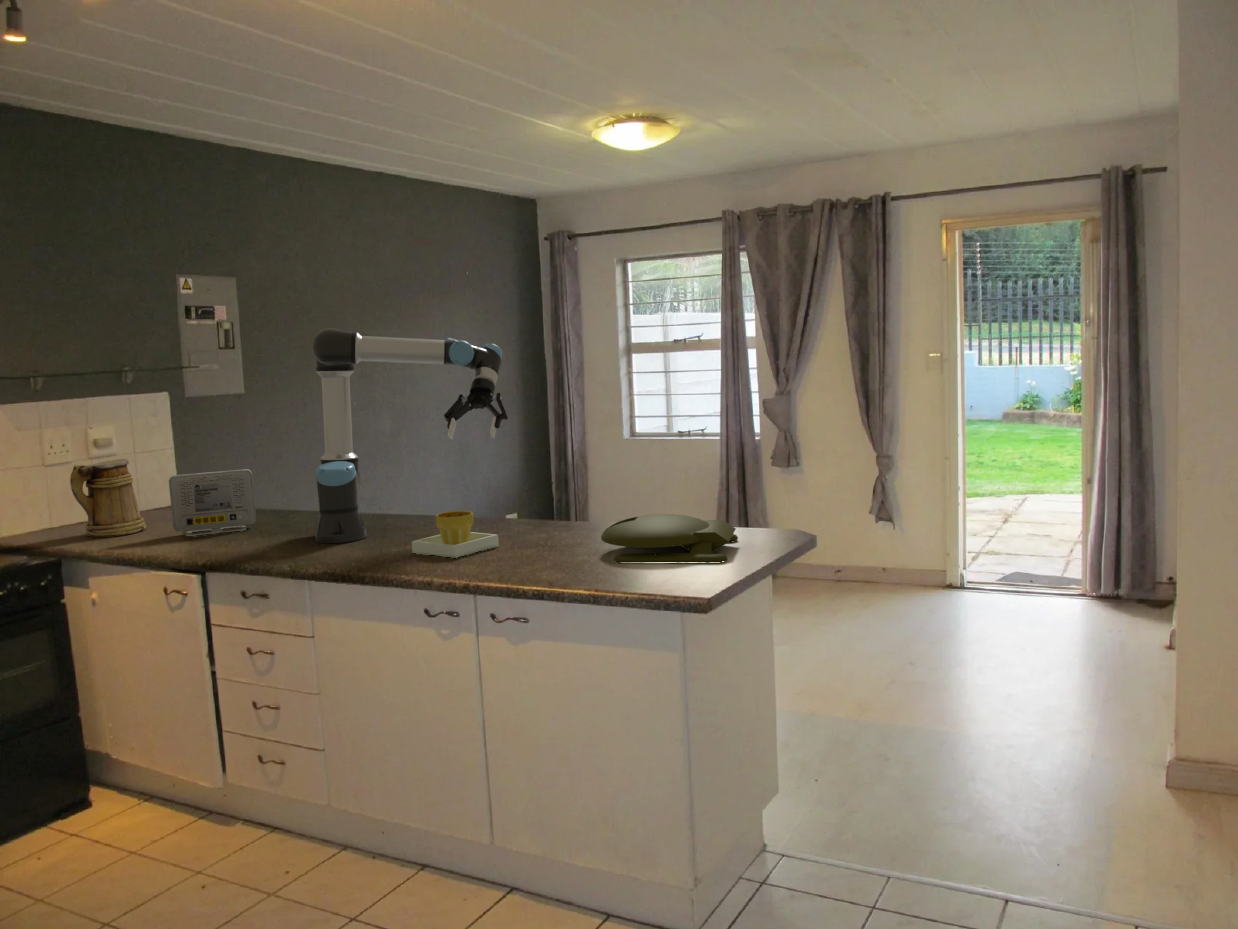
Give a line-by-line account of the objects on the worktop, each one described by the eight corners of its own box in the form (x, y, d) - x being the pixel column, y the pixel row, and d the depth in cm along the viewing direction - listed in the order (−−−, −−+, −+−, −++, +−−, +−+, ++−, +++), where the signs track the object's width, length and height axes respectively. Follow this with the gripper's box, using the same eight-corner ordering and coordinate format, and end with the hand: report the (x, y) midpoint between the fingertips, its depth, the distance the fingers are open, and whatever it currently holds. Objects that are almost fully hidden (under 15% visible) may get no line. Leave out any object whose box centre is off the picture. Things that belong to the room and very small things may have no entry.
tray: (412, 553, 278) (411, 541, 277) (456, 542, 291) (455, 530, 291) (455, 558, 268) (454, 546, 267) (498, 546, 281) (497, 534, 281)
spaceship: (739, 540, 275) (737, 505, 274) (726, 565, 245) (725, 526, 244) (616, 541, 282) (614, 507, 281) (589, 565, 253) (587, 528, 252)
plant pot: (467, 551, 273) (465, 516, 272) (432, 551, 275) (429, 517, 274) (480, 544, 283) (477, 510, 282) (446, 544, 286) (443, 510, 284)
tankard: (157, 528, 344) (150, 457, 342) (98, 542, 323) (89, 466, 320) (121, 527, 352) (113, 457, 349) (60, 540, 331) (51, 466, 328)
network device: (256, 525, 340) (251, 468, 337) (257, 529, 331) (251, 470, 329) (175, 534, 331) (169, 475, 328) (173, 538, 323) (167, 477, 320)
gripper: (524, 391, 317) (512, 442, 304) (450, 394, 322) (436, 444, 309) (518, 375, 311) (506, 426, 298) (443, 378, 316) (428, 429, 303)
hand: (470, 436), depth 304 cm, fingers open, 13 cm apart
